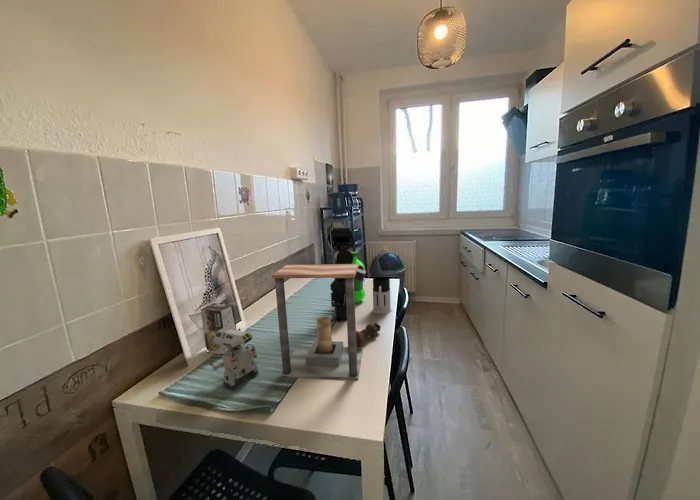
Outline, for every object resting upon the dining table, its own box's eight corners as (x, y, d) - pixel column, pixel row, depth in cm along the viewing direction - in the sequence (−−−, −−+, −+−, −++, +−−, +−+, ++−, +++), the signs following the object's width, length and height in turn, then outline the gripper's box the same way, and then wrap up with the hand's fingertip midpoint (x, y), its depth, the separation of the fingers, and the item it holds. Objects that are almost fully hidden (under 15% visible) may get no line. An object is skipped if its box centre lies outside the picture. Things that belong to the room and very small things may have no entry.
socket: (314, 350, 101) (313, 340, 100) (343, 351, 100) (343, 341, 99) (306, 367, 91) (305, 356, 90) (339, 368, 90) (338, 357, 89)
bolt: (379, 336, 113) (357, 350, 101) (369, 328, 115) (346, 340, 103) (385, 325, 111) (363, 338, 99) (375, 316, 113) (353, 328, 101)
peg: (316, 358, 95) (313, 320, 92) (324, 352, 98) (322, 315, 96) (327, 362, 92) (325, 323, 90) (335, 355, 96) (333, 318, 94)
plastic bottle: (342, 299, 151) (339, 252, 147) (360, 296, 155) (358, 249, 151) (350, 305, 142) (348, 255, 138) (369, 302, 146) (368, 252, 142)
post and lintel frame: (298, 347, 104) (291, 261, 98) (362, 348, 101) (359, 260, 95) (280, 376, 87) (271, 274, 81) (358, 379, 84) (354, 274, 78)
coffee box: (239, 347, 106) (234, 304, 103) (226, 356, 100) (221, 311, 97) (219, 343, 109) (214, 302, 106) (205, 352, 103) (199, 308, 100)
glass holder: (391, 307, 138) (391, 276, 135) (390, 319, 124) (390, 285, 122) (373, 306, 140) (372, 276, 137) (370, 318, 126) (369, 285, 123)
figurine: (238, 365, 94) (233, 321, 91) (262, 376, 87) (257, 329, 85) (211, 380, 86) (205, 332, 84) (235, 393, 80) (229, 342, 77)
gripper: (361, 266, 97) (363, 311, 100) (365, 255, 116) (367, 293, 118) (329, 266, 99) (331, 310, 101) (338, 256, 117) (339, 293, 120)
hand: (344, 301), depth 110 cm, fingers open, 9 cm apart
